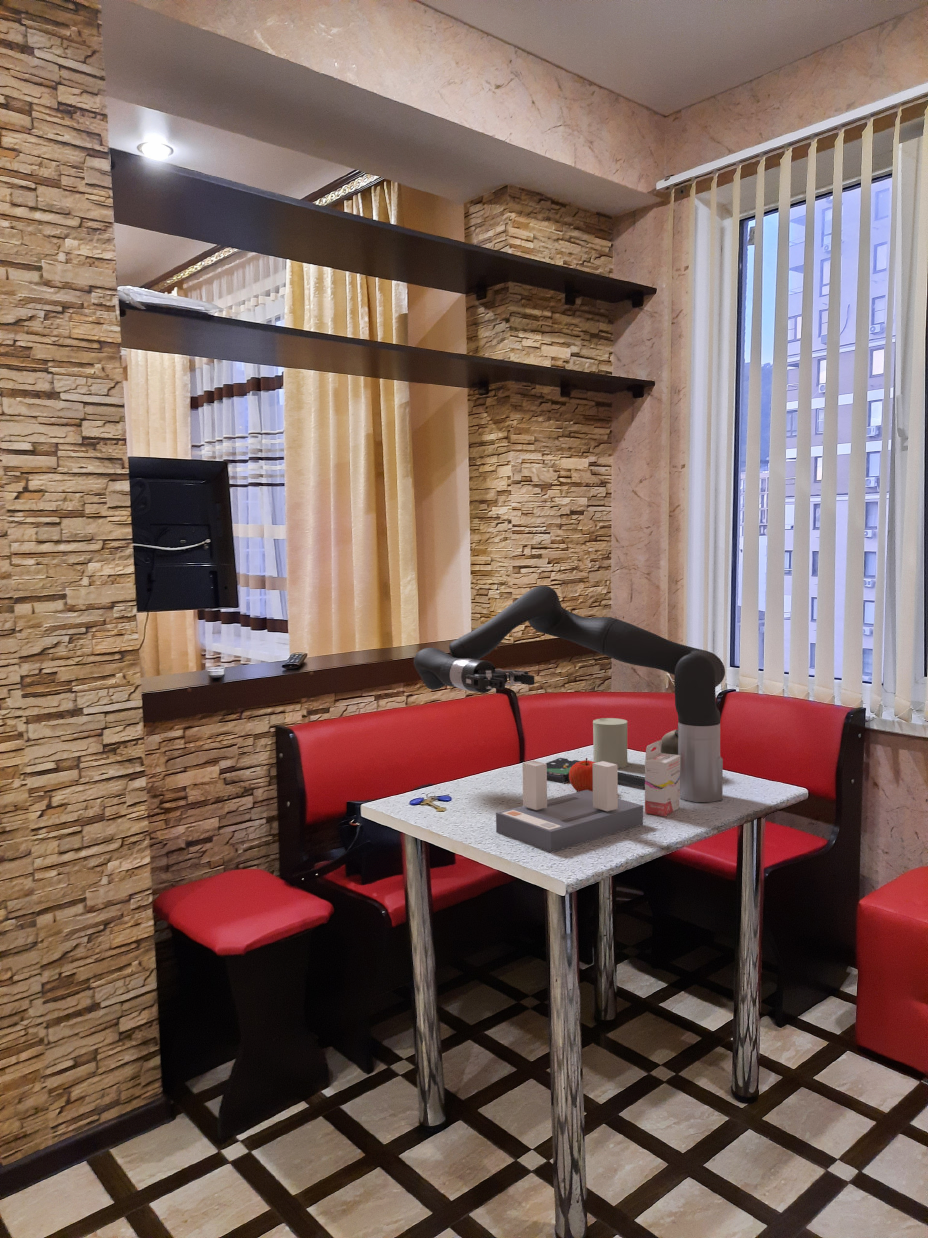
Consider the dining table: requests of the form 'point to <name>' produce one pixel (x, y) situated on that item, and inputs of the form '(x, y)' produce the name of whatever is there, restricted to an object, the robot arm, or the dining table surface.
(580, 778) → the apple
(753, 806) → the dining table surface
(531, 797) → the switch tab
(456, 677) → the robot arm
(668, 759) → the ink cartridge box
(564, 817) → the block
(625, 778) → the phone
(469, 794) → the dining table surface
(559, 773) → the disk drive
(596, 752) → the can
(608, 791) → the switch tab
